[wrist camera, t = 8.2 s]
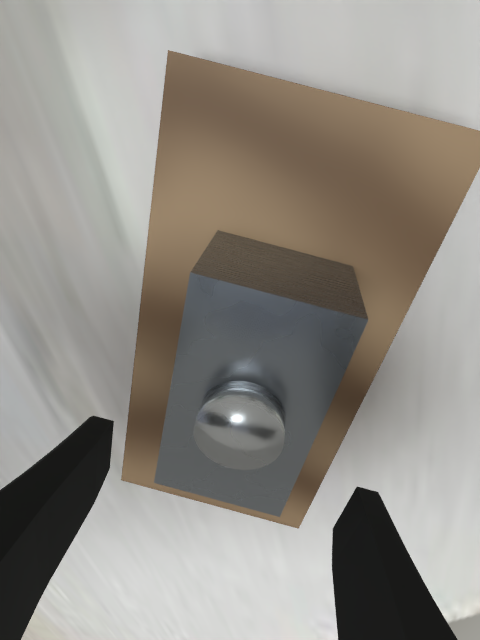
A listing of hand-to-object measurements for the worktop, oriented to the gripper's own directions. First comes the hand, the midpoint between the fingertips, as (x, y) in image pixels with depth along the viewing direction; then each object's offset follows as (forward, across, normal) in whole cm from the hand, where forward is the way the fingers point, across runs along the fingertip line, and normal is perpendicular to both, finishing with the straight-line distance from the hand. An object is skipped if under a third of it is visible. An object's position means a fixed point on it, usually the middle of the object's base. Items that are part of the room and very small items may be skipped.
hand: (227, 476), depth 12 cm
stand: (+9, 0, 0) cm, 9 cm away
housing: (+6, 0, -1) cm, 6 cm away
